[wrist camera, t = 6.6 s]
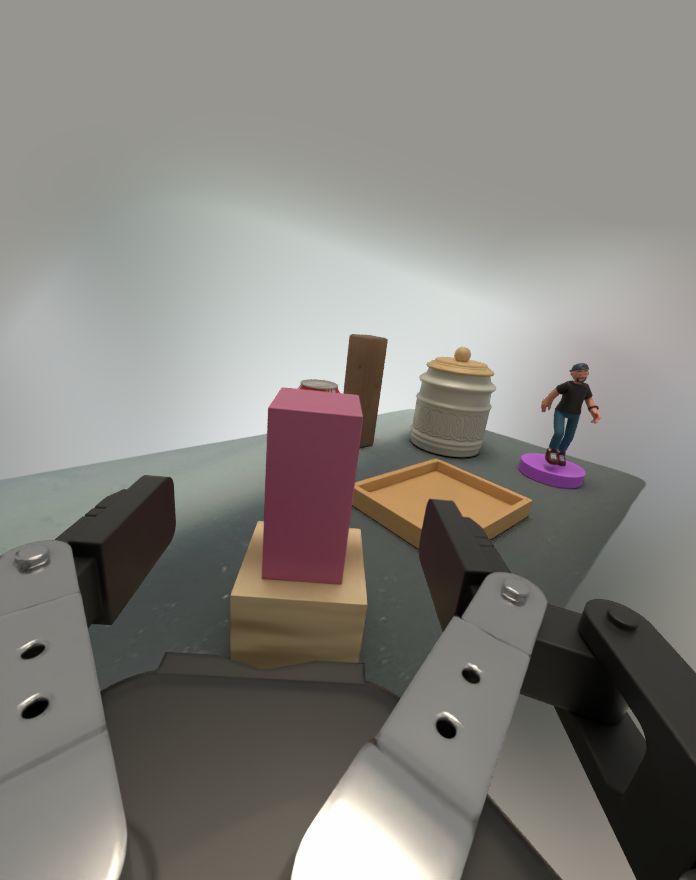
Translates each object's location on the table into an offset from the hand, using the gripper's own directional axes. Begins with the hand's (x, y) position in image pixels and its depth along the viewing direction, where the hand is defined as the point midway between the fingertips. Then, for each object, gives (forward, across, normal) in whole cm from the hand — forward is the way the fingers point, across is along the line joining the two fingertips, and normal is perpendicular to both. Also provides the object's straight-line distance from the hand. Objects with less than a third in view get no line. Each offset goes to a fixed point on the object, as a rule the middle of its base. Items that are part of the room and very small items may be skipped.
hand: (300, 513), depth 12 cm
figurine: (+45, -37, +16) cm, 60 cm away
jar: (+55, -22, +16) cm, 61 cm away
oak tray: (+31, -15, +16) cm, 38 cm away
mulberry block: (+11, 0, +10) cm, 15 cm away
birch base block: (+11, 0, +16) cm, 20 cm away
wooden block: (+50, -4, +16) cm, 53 cm away
